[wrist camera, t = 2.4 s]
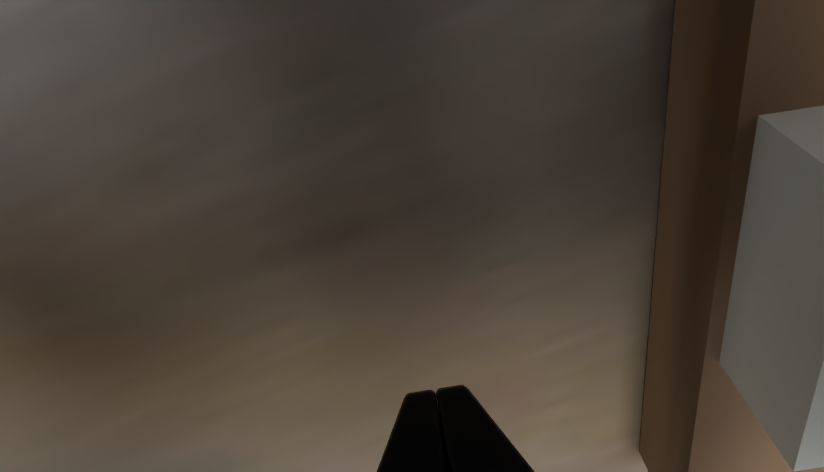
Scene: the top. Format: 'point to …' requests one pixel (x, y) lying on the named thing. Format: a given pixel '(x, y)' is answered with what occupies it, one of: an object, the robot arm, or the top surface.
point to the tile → (782, 287)
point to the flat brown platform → (715, 220)
